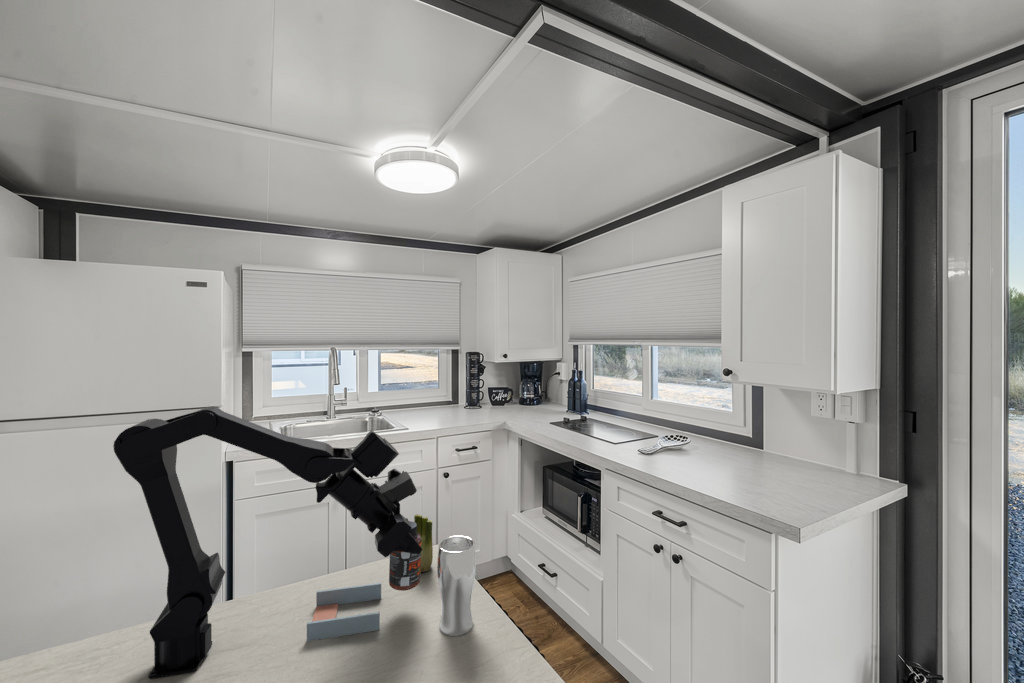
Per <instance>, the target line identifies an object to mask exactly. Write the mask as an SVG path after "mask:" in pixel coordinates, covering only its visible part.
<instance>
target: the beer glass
mask: <svg viewBox="0 0 1024 683" xmlns="http://www.w3.org/2000/svg"><path fill="white" fill-rule="evenodd" d="M476 558H477V557H476V542H475V540H474V539H473V538H471V537H469V536H466V535H451V536H448V537H445V538H443V539H442V540H440V541H439V543H438V553H437V565H436V566H437V567H436V568H437V581H438V583H437V584H438V588H439V589H438V590H439V594H440V601H441V615H440V619H439V620H440V621H439V630H440V631H441V633H442V634H444V635H447V636H449V637H458V636H462V635H465V634H467V633H468V632H469V631H470V630H472V628H473V624H474V621H473V615H472V596H473V591H474V585H475V582H476V580H475V578H476V572H477V571H476V566H477V565H476V564H477V563H476V561H477V560H476Z"/></svg>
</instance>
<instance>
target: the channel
mask: <svg viewBox="0 0 1024 683" xmlns="http://www.w3.org/2000/svg"><path fill="white" fill-rule="evenodd" d="M315 599H316V604H315V605H316V606H315V609H314V612H313V616H312V619H311V621H308V622H306V642H311V641H317V640H322V639H323V640H324V639H330V638H337V637H343V636H350V635H356V634H362V633H368V632H373V631H374V632H375V631H380V625H381V623H380V620H381V619H380V614H381V613H380V611H375V612H368V613H363V614H362V613H361V614H360V613H359V614H354V615H348V616H341V617H340V616H339V617H337V614H338V613H337V612H338V610H339V605H347V604H353V603H363V602H369V601H376V600H381V599H382V582H375V583H368V584H360V585H353V586H344V587H338V588H337V587H336V588H330V589H323V590H317V591H316V598H315Z"/></svg>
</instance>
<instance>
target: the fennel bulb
mask: <svg viewBox="0 0 1024 683" xmlns="http://www.w3.org/2000/svg"><path fill="white" fill-rule="evenodd" d="M413 517H414V520H413V522H415V523H416V524H417V533H418V534H419V535H420V536H421V548H422V551H421V573H423V572H424V573H425V572H428V571H430V570H431V567H432V564H433V557H434V556H433V553H434V552H433V551H434V550H433V548H434V546H433V521H432V519H431V520H430V519H429V517H428V516H427V517H425V516H424V517H423V515H421V514H415V515H414V516H413Z"/></svg>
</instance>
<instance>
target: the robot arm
mask: <svg viewBox="0 0 1024 683" xmlns="http://www.w3.org/2000/svg"><path fill="white" fill-rule="evenodd" d="M201 436H208V437H211V438H212V439H215V440H219V441H222V442H224V443H226V444H227V443H228V444H229V445H231V446H235V447H238V448H240V449H243V450H246V451H249V452H251V453H254V454H257V455H259V456H262V457H266V458H268V459H271V460H273V461H275V462H278V463H279V464H280V465H282V466H284V468H286V469H287V470H288V471H290V473H292V474H294V475H296V476H297V477H299V478H301V479H303V480H304V481H306V482H308V483H313V484H315V490H316V503H318V504H319V503H320V504H321V503H322V502H323V500H324V499H326V498H327V496H328V495H329V496H330V497H331V498H332V499H334V500H335V501H337V503H339V504H340V505H341V506H343V508H345V509H346V510H347V511H349V512H350V515H351V517H352V518H353V519H354V520H355V521H356V520H357V519H358V520H360V521H361V522H362V523H363V524H365V525H366V527H367V530H368V531H369V532H370V533H371V534H373V533H374V532H375V531H376V529H377V530H378V531H377V532H376V534H375V535H374V544H375V548H376V550H377V552H378V553H379V554H380V555H382V556H383V557H384V558H388V557H390V554H391V553H392V551H399V552H407V553H414V554H419V553H420V552H421V551H422V548H421V546H420V545H419V544H418V542H417V541H416V540H415V539H414V537H413V536H412V535H411V534H410V530H411V528H412V527H411V525H410V523H409V521H410V520H409V519H408V518H406V517H405V516H404V515H403V514H402V513H401V504H400V502H401V501H403V500H404V499H407V498H409V497H411V496H414V494H416V493H417V488H416V485H415V484H414V482H413V480H412V478H411V476H410V474H409V473H408V472H407V471H405V470H403V471H399V470H398V469H396V468H392V469H391V470H389V471H388V472H387V480H384V483H383V484H381V485H378V484H377V483H376V482H369V481H368V480H367V479H369V478H371V479H372V478H374V477H375V478H377V477H379V475H380V474H381V473H382V472H383V471H384V470H385V469H386V468H387V467H388V466H389V465H390V464H391V463H392V462H393V461H394V460H395V459H396V458H397V457H398V456H399V455H400V453H399V452H398V450H397V449H396V448H395V447H394V446H393V445H392V444H391V443H390V441H388V440H387V439H386V438H385V437H382V436H381V435H379V434H378V433H376V432H375V431H374V430H369V431H368V433H367V434H366V435H365V437H364V438H363V439H362V441H360V442H359V443H358V444H357V445H356V446H355V447H354V448H353V449H352V448H349V447H348V448H346V447H333V446H332V445H330V444H329V443H327V442H324V441H318V440H315V439H308V438H300V437H293V436H288V435H285V434H283V433H280V432H279V431H278V432H277V431H275V430H272V429H270V428H267V427H264V426H262V425H260V424H256V423H255V422H254V423H253V422H252V421H249V420H246V419H244V418H241V417H239V416H236V415H233V414H230V413H229V412H226V411H223V410H222V409H220V408H219V407H217V406H206V407H203V408H201V409H200V410H197V411H193V412H189V413H186V414H182V415H179V416H176V417H173V418H169V419H166V420H164V419H161V418H160V419H159V418H150V419H149V418H148V419H145V420H144V421H141V422H139V423H137V424H134V425H132V426H130V427H127V428H125V429H124V430H123V431H122V432H120V433H119V434H118V435H117V437H116V439H115V440H114V441H113V445H112V446H113V452H114V454H115V456H116V458H117V459H118V461H119V462H120V464H121V466H122V468H123V469H124V471H125V473H127V474H128V475H129V476H130V477H132V478H133V479H134V480H135V481H136V482H137V483H138V484H139V486H141V489H142V490H141V491H142V493H143V496H144V499H145V503H146V504H147V507H148V508H147V509H148V511H149V514H150V517H151V520H152V523H153V526H154V528H155V532H156V535H157V538H158V540H159V544H160V546H161V550H162V552H163V555H164V559H165V562H166V564H167V568H168V569H167V570H168V572H167V573H168V575H167V587H166V598H167V603H166V605H165V606H164V607H163V609H162V611H161V612H160V614H159V616H158V617H157V619H156V620H155V622H154V624H153V626H152V627H151V628H150V630H149V635H150V636H151V638H152V640H153V643H154V645H153V646H154V654H153V655H154V660H153V661H154V666H153V668H152V669H151V671H149V674H148V679H155V678H161V677H167V676H173V675H180V674H187V673H192V672H195V671H197V670H198V669H199V667H200V666H201V664H202V662H203V661H204V659H205V658H206V657H207V655H208V654H209V651H211V649H212V645H213V641H212V623H211V622H209V611H210V610H211V608H212V606H213V604H214V602H215V600H216V598H217V596H218V593H219V592H220V589H221V587H222V584H223V579H224V576H225V574H226V570H225V569H223V567H222V566H221V561H220V553H219V552H215V553H214V554H212V555H210V556H209V555H208V554H207V552H205V551H203V549H202V547H201V545H200V542H199V539H198V535H197V533H196V529H195V525H194V523H193V520H192V518H191V514H190V511H189V508H188V504H187V502H186V498H185V495H184V491H183V490H182V487H181V483H180V480H179V477H178V474H177V470H176V469H177V467H176V466H177V457H178V456H177V455H178V445H179V444H182V443H184V442H187V441H189V440H192V439H195V438H198V437H201ZM355 469H356V470H355ZM357 471H358V472H357ZM362 475H363V476H362ZM365 477H366V478H367V479H366V478H365Z"/></svg>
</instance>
